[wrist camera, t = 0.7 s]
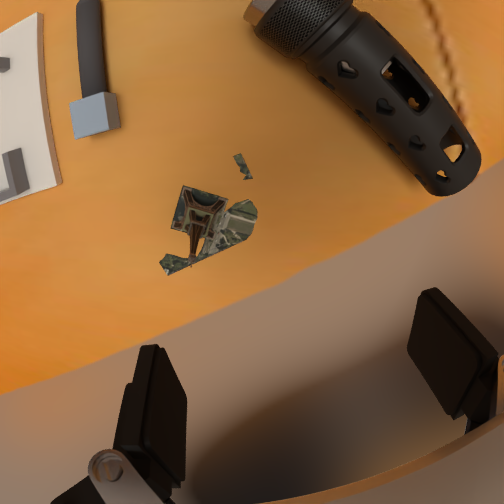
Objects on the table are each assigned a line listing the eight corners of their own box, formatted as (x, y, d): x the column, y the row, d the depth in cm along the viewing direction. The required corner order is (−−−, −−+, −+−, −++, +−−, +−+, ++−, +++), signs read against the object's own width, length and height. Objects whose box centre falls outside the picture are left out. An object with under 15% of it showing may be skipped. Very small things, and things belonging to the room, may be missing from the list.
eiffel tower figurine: (167, 275, 38) (151, 346, 26) (125, 208, 34) (83, 260, 22) (274, 225, 37) (303, 283, 25) (239, 149, 33) (252, 171, 21)
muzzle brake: (406, 184, 36) (455, 210, 27) (233, 35, 26) (241, 4, 17) (443, 134, 33) (496, 148, 24) (285, -17, 24) (310, -57, 14)
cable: (77, 5, 21) (63, -4, 18) (107, -6, 22) (96, -17, 18) (89, 135, 29) (75, 139, 25) (120, 127, 29) (109, 129, 26)
